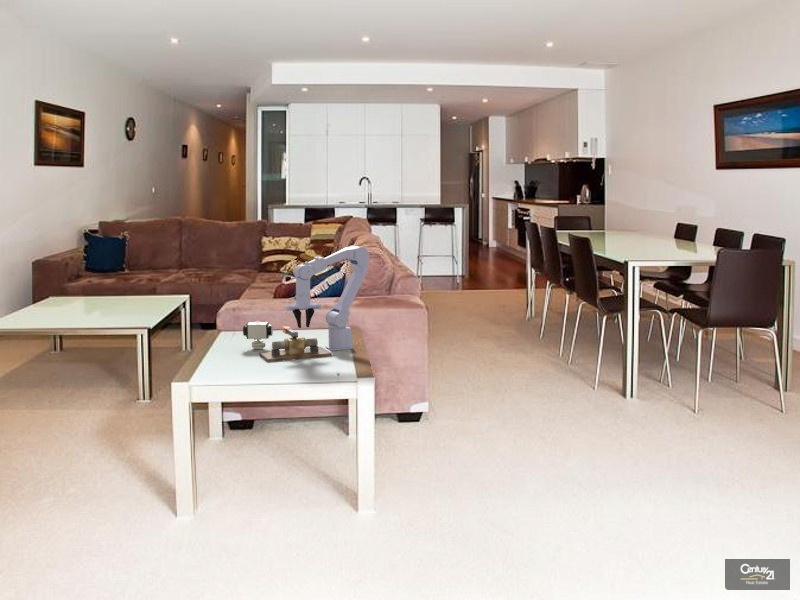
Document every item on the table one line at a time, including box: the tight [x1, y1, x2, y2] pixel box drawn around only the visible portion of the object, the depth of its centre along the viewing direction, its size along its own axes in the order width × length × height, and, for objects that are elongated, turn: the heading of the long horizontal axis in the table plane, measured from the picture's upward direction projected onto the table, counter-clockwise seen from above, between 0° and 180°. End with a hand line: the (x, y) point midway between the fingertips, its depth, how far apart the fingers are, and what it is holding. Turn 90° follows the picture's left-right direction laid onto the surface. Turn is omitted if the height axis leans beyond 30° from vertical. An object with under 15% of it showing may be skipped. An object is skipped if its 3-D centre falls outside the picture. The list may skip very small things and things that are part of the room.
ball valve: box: [258, 336, 333, 363], centre depth 322 cm, size 26×14×7 cm, turn 113°
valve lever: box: [282, 325, 299, 338], centre depth 327 cm, size 15×3×2 cm, turn 24°
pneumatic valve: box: [242, 320, 274, 350], centre depth 335 cm, size 6×12×12 cm, turn 90°
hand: (303, 327), depth 327 cm, fingers open, 3 cm apart
